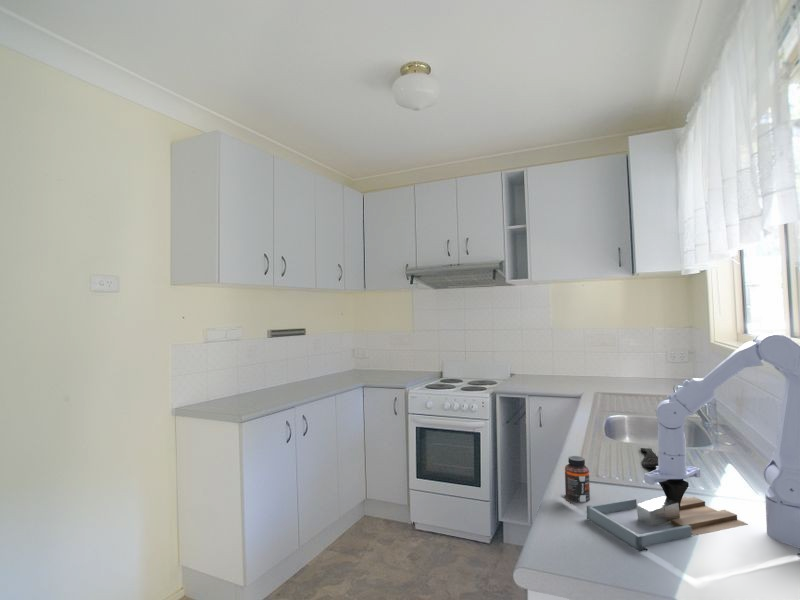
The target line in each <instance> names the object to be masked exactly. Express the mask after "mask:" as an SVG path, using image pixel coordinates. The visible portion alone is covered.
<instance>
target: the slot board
mask: <svg viewBox="0 0 800 600" xmlns="http://www.w3.org/2000/svg"><path fill="white" fill-rule="evenodd" d="M679 513H680V518H679V519H674V520H671V523H668V524H670V525H671V526H674V528H675V527H680V526H685V525H689V526H691V530H692V536H699V535H703V534H707V533H714V532H718V531H723V530H728V529H732V528H737V527H742V526H747V525H749V524H748V523H747V522H744V521H742V520H739V519H738V514H735V513H734V512H731V511H729V510H726V509H722V510H716V509H715V508H712V507H709V506H707V505H706V501H705V500H702V499H701V498H697V497H695V496H691V497H685V496H683V497H682V500H681V503H680V511H679Z"/></svg>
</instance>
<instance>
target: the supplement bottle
mask: <svg viewBox="0 0 800 600" xmlns="http://www.w3.org/2000/svg"><path fill="white" fill-rule="evenodd" d="M585 460H586V459H585V458H584V457H583V456H579V455H578V456H577V455H570V456H568V460H567V461H568V462H567V463H568V464H565V466H564V480H565V482H564V484H565V486H564V488H565V490H564V491H565V499H566V502H568V503H569V502H570V503H569V504H571V503H572V502H575V503H580V504H581V503H587V502H589V501H590V499H591V492H590V469H589V467H588V466H586V465H585V464H586V461H585Z"/></svg>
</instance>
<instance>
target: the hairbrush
mask: <svg viewBox="0 0 800 600" xmlns="http://www.w3.org/2000/svg"><path fill="white" fill-rule="evenodd" d="M640 451H643V452H645V453H646V454H645V455H644V457H643V459H642V460H641V466H643V467H644V468H654V469H656V466H658V455H656V454H657V453H655V452H654V451H653V449H652V448H647V447H640Z"/></svg>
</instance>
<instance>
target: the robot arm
mask: <svg viewBox="0 0 800 600" xmlns="http://www.w3.org/2000/svg"><path fill="white" fill-rule="evenodd" d="M762 360H763V361H764V362H766V363H768V364H769V365H771V366H773V367H774V369H775V370H776V371H777V372H779V373H780V375H781V376H782V377H784V380H785V382H784V386H783V387H784V389H783V396H782V401H781V408H780V415H779V422H778V428H777V429H778V430H777V435H776V442H775V443H776V444H775V449H774V450H773V452H772V454H771V459H770V461H769V463H768V464H767V465H766V466H765V467H764V469H763V478H764V480H765V481H766V483H767V484H768V485H769V487H768V489H767V490H766V491H765V496H764V499H765V517H766V534H767V536H768V537H770V538H771V539H773V540H775V541H777V542H780V543H784V544H785V545H788V546H789V545H790V546H792V547H794V548H796V549H799V550H800V345H799V344H798V343H797V342H795V341H794V340H793V339H791V338H790V337H788V336H787V335H783V334H778V333H774V332H763V333H759V334H757V335H756V336H755V337H754V338H753V340H749V341H747V342H745V343H743V344H742V345H741V346H740V347H738V348H737V349H736V350H734V351H733V352H731V354H729V355H728V356H727V357H726V358H725V359H724V360H722V362H720V363H719V364H718V365H716V367H714V368H713V369H712V370H710V372H709V373H707V374H706V375H705V376H704V377H702V378H696V377H693V378H691V379H690V380H688V379H685V380H684V381H683V382H682V386H681V387H680V388H679V389H678V390H676V391H675V392H673V394H670V393H669V394H667V395H666V398H667V399H664V400H662V401H660V402H659V403H658V404H657V406H656V410H655V413H656V417H657V418H656V419H657V420H658V422H657V425H656V426H657V432H656V434H657V435H656V436H657V440H656V441H657V457H658V466H656V468H655V469H654V470H652V471H650V472H645V473H644V474H643V475H644V477H643V478H644V482H645V483H646V484H649V485H651V486H652V485H655V483H659V485H660V487H661V489H662V491H663V492H664V495H665V497H667V498H669V499H672V500H674V501H676V502H678V503H679V511H680V503H681V500H682V498H684V495H685V492H686V491H687V489H689V487H690V486H689V481H686V480H684V479H687V478H688V479H689V478H693V477H694V478H701V469H700V468H699V467H695V466H687V448H686V447H687V444H686V443H687V442H686V434H685V429H684V427H685V426H684V425H685V423H687V417H688V416H692V415H693V414H695V413H697V411H699V410H700V409H702V408H703V407H704V406H705V405H706V404H708V403H710V402H711V401H712V400H713V399H715V389H717V388H718V387H720V386H722V385H723V384H725V383H726V382H727V381H729V380H730V379H731V378H733V377H734V376H735V375H737V374H738V373H739V372H741V371H742V370H744V369H745V368H751V367H753V368H754V367H761V366H762V367H763V366H764V364H763V362H762ZM796 554H797V555H799V556H800V552H797V553H796Z"/></svg>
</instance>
